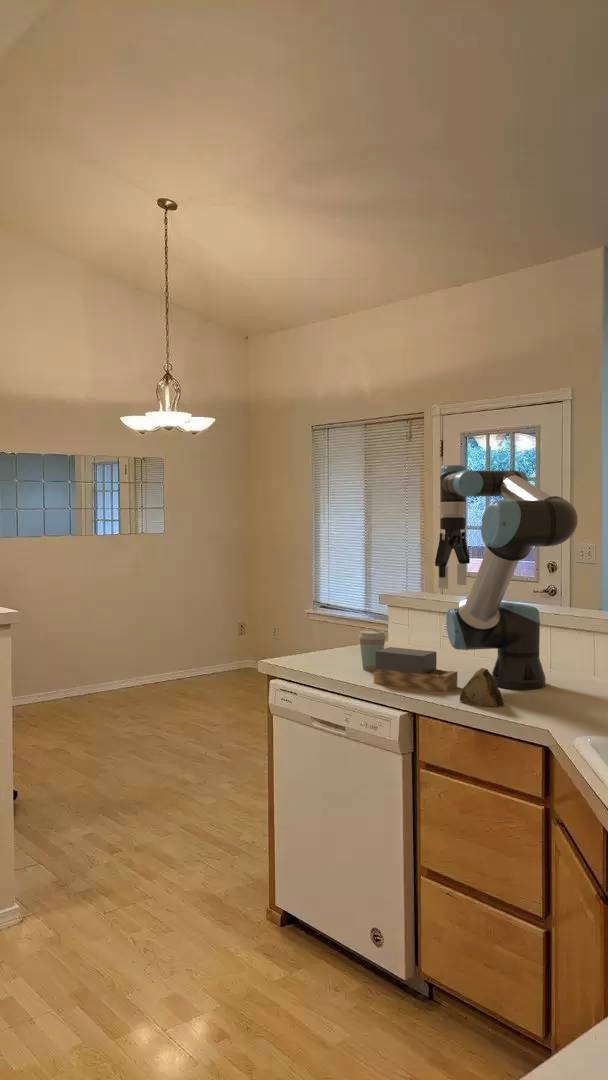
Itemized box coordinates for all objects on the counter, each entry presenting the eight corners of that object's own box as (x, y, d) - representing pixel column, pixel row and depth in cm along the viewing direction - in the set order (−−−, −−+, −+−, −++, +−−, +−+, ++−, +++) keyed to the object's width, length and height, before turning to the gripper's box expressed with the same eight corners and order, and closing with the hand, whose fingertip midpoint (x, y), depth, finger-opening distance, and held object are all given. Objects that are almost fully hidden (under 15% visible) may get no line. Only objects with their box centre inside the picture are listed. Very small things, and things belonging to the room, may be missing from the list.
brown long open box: (457, 687, 241) (457, 671, 240) (445, 692, 234) (445, 676, 234) (386, 678, 253) (386, 663, 253) (373, 683, 247) (373, 668, 246)
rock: (447, 693, 223) (471, 695, 214) (461, 665, 226) (485, 666, 217) (476, 715, 226) (500, 718, 217) (490, 687, 229) (514, 689, 220)
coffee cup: (384, 672, 262) (384, 634, 262) (356, 671, 264) (356, 633, 264) (387, 667, 271) (387, 630, 270) (360, 666, 272) (360, 629, 272)
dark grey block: (436, 681, 245) (436, 651, 244) (422, 686, 237) (422, 656, 237) (390, 675, 253) (390, 647, 253) (375, 680, 246) (375, 651, 245)
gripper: (458, 515, 270) (457, 582, 271) (423, 517, 250) (423, 589, 250) (480, 516, 266) (480, 583, 267) (447, 517, 245) (447, 590, 246)
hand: (452, 586), depth 259 cm, fingers open, 13 cm apart
